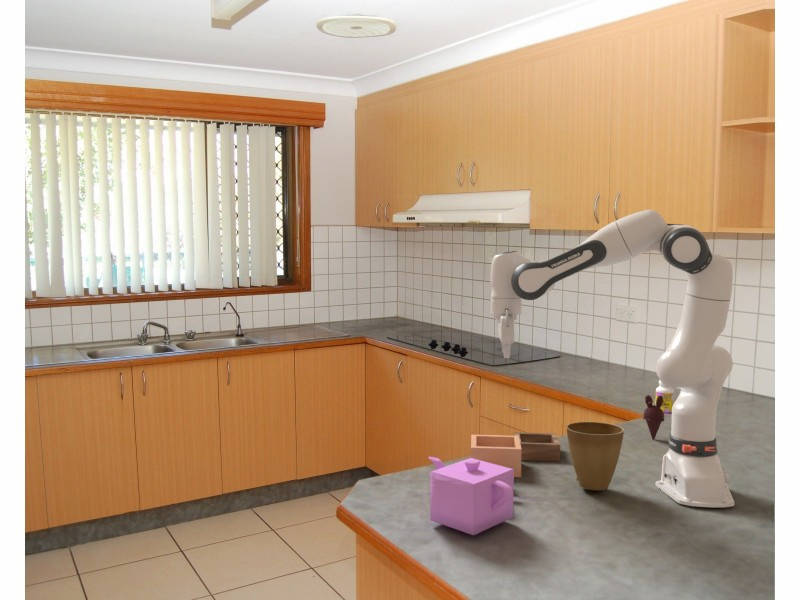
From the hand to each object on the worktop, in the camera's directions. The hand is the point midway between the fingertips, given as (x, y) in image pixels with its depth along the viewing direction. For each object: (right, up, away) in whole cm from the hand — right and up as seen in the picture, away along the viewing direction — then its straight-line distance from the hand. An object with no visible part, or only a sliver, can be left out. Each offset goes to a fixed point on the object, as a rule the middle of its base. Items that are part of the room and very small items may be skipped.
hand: (506, 355), depth 206 cm
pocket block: (+12, -32, +15) cm, 37 cm away
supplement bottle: (+71, -28, +68) cm, 102 cm away
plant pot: (+21, -34, -14) cm, 43 cm away
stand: (-3, -33, +1) cm, 33 cm away
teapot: (-14, -36, -36) cm, 53 cm away
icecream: (+54, -31, +32) cm, 69 cm away
